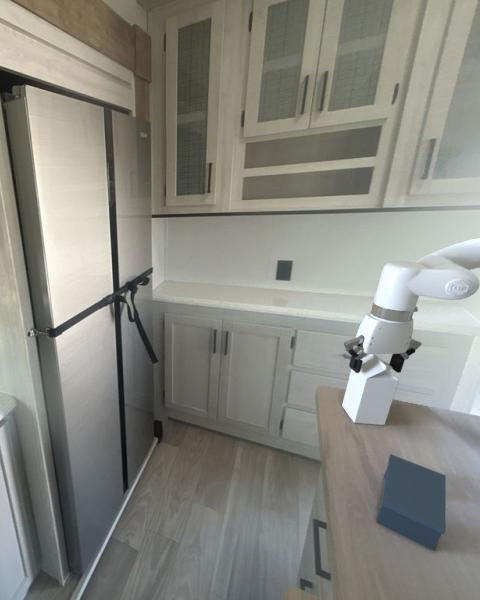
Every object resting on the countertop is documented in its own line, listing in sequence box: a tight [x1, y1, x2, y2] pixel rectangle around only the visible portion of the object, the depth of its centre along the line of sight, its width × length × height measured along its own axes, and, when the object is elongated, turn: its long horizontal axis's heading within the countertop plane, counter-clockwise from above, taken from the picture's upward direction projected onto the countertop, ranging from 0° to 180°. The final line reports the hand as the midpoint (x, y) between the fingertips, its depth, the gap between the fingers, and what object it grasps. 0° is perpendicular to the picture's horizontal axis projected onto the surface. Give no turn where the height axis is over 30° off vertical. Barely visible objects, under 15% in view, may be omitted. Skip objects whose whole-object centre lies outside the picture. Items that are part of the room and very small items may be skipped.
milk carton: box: [341, 354, 400, 426], centre depth 90 cm, size 7×7×19 cm
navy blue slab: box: [376, 453, 447, 551], centre depth 68 cm, size 15×9×6 cm, turn 135°
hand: (374, 369), depth 88 cm, fingers open, 9 cm apart
